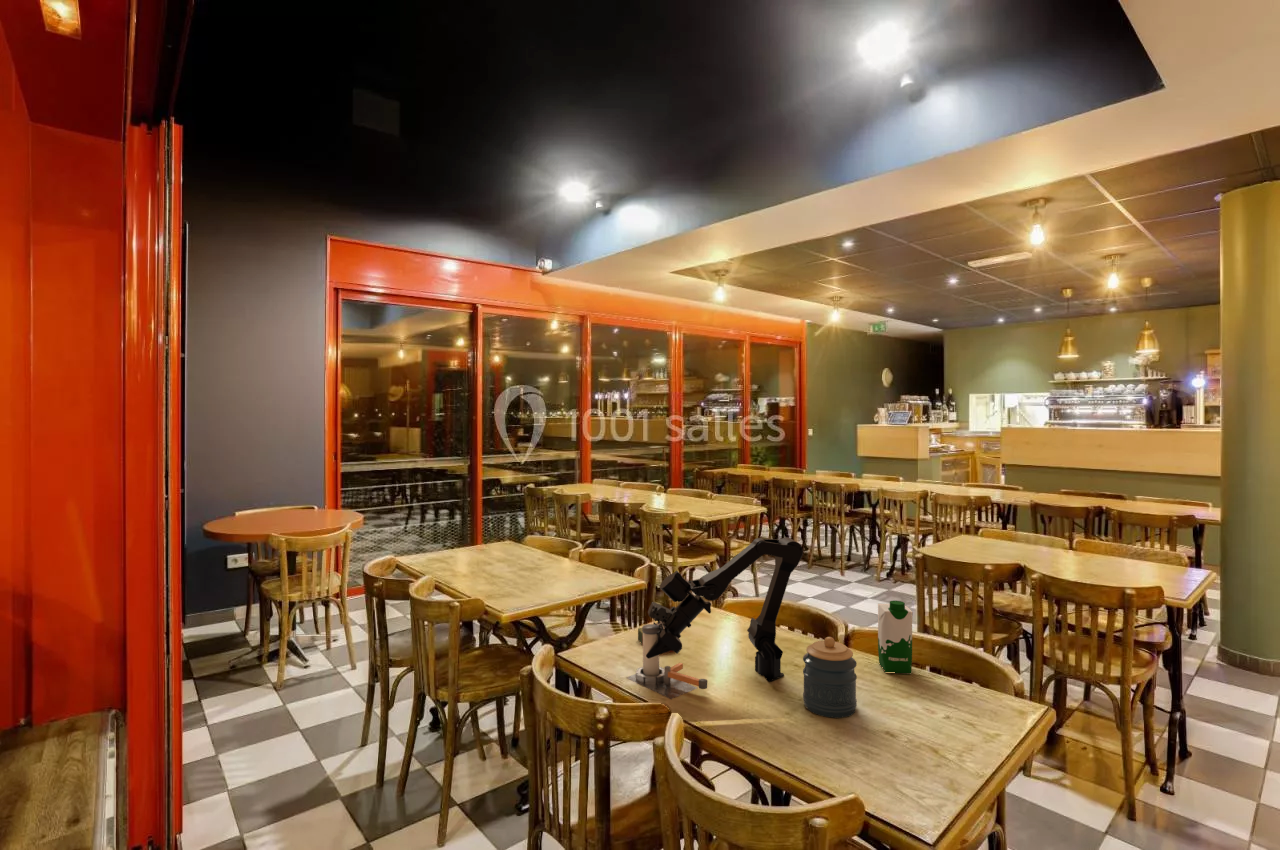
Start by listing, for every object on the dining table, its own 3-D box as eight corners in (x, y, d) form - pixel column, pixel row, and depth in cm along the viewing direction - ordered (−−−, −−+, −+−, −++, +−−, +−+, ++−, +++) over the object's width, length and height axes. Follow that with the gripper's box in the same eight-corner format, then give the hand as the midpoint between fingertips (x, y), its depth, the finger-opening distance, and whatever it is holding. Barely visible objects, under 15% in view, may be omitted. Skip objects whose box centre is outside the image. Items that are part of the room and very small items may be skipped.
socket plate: (697, 690, 168) (697, 681, 168) (671, 702, 161) (671, 692, 161) (652, 670, 181) (652, 661, 181) (625, 680, 175) (625, 671, 175)
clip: (719, 686, 168) (719, 670, 168) (704, 697, 162) (704, 680, 162) (678, 674, 177) (678, 659, 176) (662, 683, 170) (662, 667, 170)
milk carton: (883, 674, 178) (883, 604, 178) (874, 662, 187) (874, 595, 187) (915, 676, 177) (915, 605, 177) (905, 663, 186) (905, 596, 186)
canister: (820, 722, 151) (820, 648, 150) (793, 698, 163) (793, 631, 163) (867, 715, 154) (867, 643, 154) (837, 692, 167) (837, 626, 166)
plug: (663, 678, 174) (663, 627, 174) (650, 683, 171) (650, 631, 171) (651, 673, 178) (651, 623, 178) (638, 677, 175) (638, 626, 174)
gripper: (660, 584, 184) (623, 623, 183) (669, 603, 165) (627, 646, 164) (687, 610, 185) (650, 649, 184) (699, 631, 166) (658, 675, 165)
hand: (646, 653), depth 174 cm, fingers closed on plug, 4 cm apart
